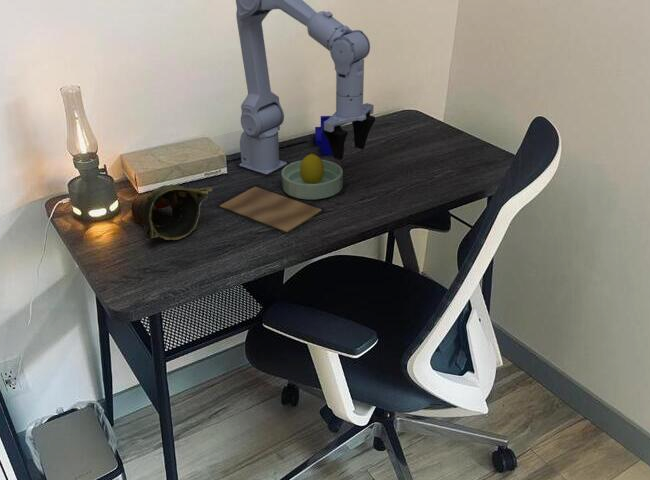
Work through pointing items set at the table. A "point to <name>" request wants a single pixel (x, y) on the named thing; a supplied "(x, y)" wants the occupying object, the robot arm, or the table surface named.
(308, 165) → the lemon
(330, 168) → the bowl
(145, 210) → the pot
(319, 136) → the cable clip
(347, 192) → the table surface
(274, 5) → the robot arm
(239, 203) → the cork mat
